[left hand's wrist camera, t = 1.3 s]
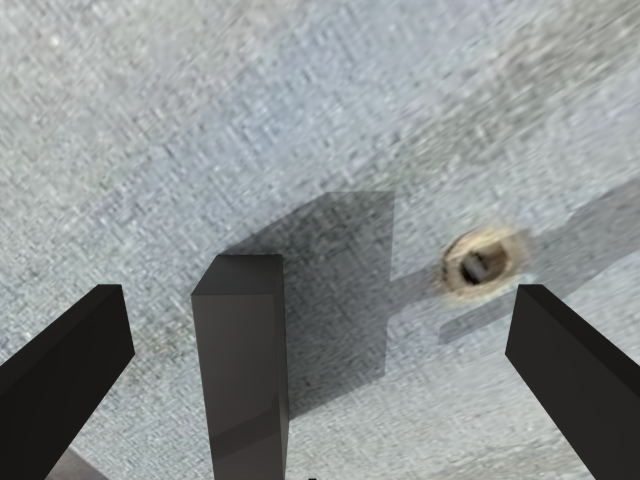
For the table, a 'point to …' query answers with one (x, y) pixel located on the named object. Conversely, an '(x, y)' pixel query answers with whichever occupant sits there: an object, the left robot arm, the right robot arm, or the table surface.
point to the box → (244, 365)
